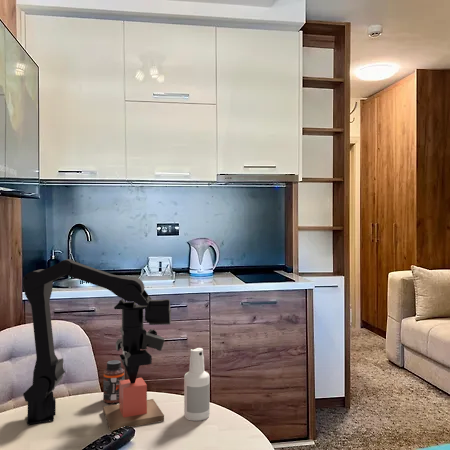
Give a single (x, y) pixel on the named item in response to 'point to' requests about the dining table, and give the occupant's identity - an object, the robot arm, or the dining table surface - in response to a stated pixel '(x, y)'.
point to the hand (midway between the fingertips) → (132, 382)
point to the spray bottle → (196, 388)
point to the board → (118, 421)
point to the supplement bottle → (112, 381)
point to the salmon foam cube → (132, 397)
